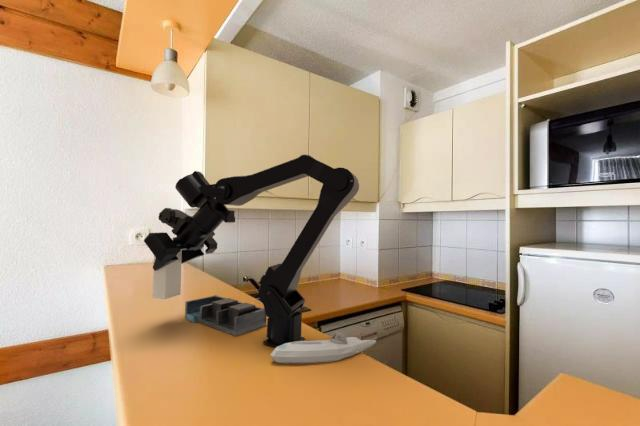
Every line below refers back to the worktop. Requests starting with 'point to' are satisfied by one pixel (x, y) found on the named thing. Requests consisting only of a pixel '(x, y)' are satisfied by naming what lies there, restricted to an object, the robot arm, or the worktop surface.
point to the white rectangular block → (168, 279)
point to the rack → (225, 314)
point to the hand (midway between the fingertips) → (163, 267)
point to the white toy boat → (320, 350)
